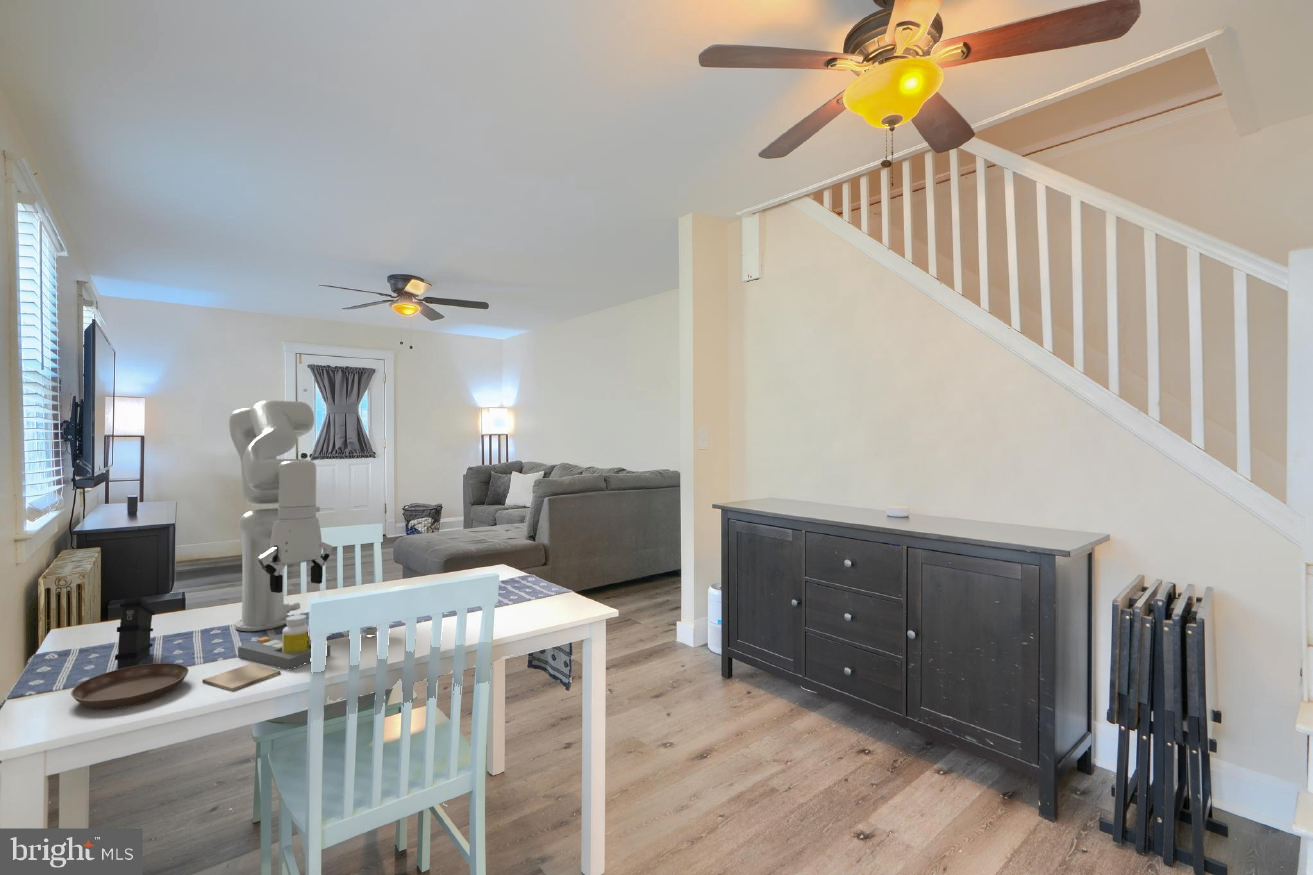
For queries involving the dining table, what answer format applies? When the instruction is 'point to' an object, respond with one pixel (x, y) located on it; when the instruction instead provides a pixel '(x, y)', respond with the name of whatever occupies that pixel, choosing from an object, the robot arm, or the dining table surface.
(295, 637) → the supplement bottle
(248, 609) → the robot arm
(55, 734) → the dining table surface
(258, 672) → the cork mat
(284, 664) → the grey panel with buttons
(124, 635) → the magazine
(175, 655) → the dining table surface
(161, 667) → the plant saucer
